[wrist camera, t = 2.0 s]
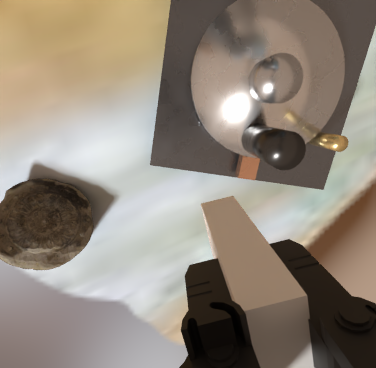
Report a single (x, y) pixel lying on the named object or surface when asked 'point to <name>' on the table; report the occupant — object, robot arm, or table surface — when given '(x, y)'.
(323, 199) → the table surface
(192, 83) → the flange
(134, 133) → the table surface
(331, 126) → the clock base
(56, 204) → the fossil
